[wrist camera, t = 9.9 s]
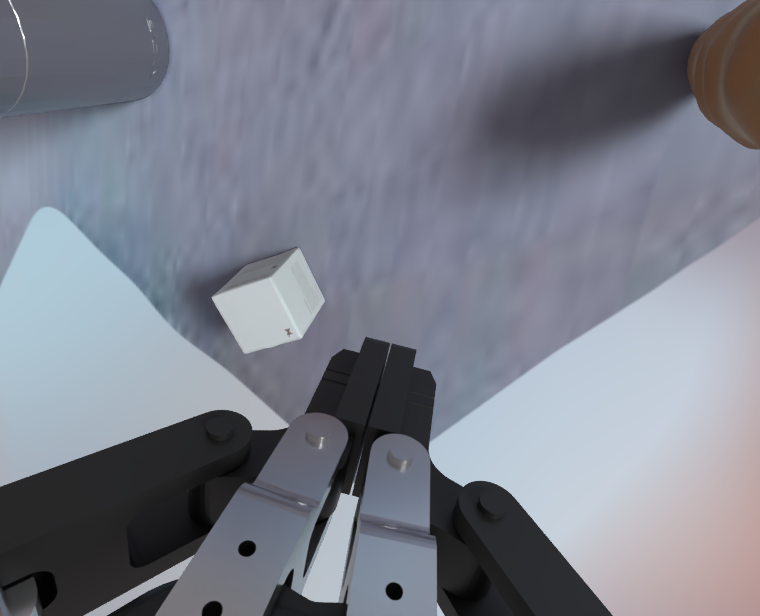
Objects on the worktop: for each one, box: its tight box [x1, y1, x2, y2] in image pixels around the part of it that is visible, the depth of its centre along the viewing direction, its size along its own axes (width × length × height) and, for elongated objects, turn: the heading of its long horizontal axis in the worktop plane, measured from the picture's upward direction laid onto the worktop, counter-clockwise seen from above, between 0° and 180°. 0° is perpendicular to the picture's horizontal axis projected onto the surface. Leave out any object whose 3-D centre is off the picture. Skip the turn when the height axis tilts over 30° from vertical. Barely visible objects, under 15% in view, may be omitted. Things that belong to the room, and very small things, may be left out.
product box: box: [212, 247, 325, 354], centre depth 44 cm, size 6×6×7 cm
